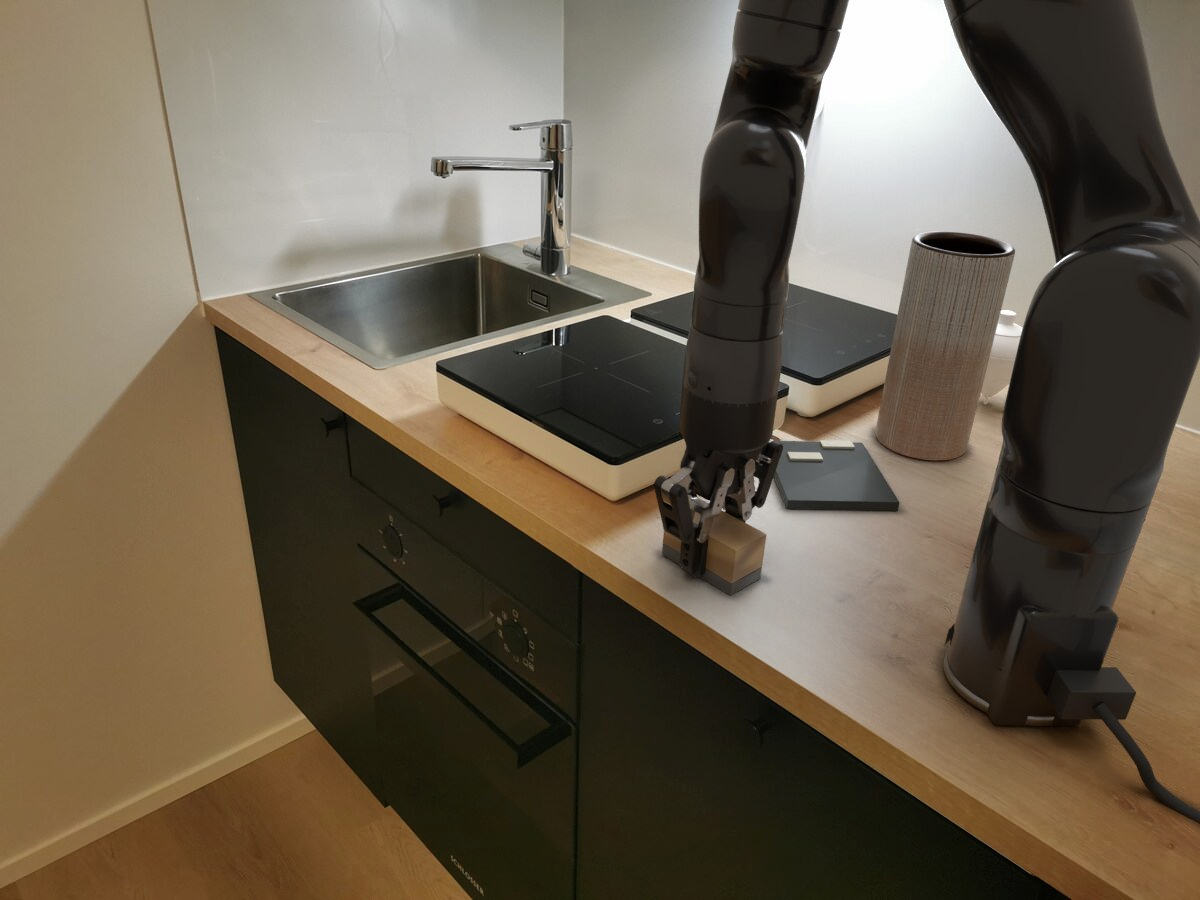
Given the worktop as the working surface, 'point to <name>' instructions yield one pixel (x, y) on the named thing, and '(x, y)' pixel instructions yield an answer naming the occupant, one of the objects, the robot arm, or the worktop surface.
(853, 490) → the slate board
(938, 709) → the worktop surface
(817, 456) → the cream rectangular block
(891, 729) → the worktop surface
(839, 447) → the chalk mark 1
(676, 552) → the eraser
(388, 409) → the worktop surface
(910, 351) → the planter
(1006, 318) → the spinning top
